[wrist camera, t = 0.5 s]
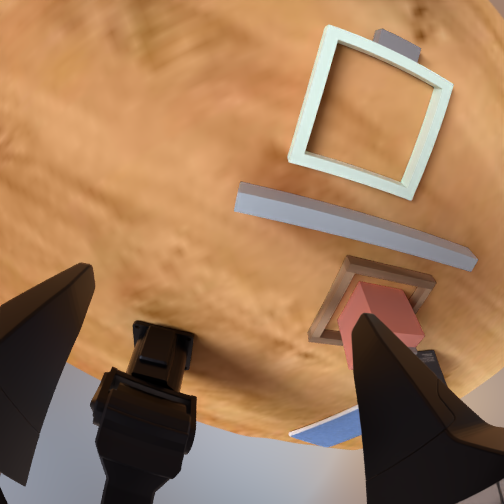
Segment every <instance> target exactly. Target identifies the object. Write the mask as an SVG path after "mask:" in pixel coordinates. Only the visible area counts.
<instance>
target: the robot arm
mask: <svg viewBox="0 0 504 504" xmlns="http://www.w3.org/2000/svg"><path fill="white" fill-rule="evenodd" d="M94 290H95V280H94V272H93V267H92V265H90V264H87V263H78V264H76V265H74V266H72V267H70V268H69V269H67V270H65V271H63V272H61V273H59V274H57V275H55V276H53V277H51V278H49V279H47V280H46V281H44V282H42V283H40V284H38V285H36V286H34V287H33V288H31V289H29V290H27V291H25V292H24V293H22V294H20V295H18V296H16V297H15V298H13V299H11V300H9V301H8V302H6V303H4V304H2V305H1V307H0V475H1V473H3V474H4V475H6V476H7V477H9V478H11V479H12V480H14V481H16V482H18V483H20V484H21V485H23V486H26V483H27V479H28V475H29V471H30V467H31V463H32V459H33V456H34V452H35V449H36V445H37V441H38V438H39V433H40V431H41V428H42V425H43V422H44V419H45V416H46V413H47V410H48V407H49V405H50V402H51V399H52V397H53V393H54V391H55V389H56V386H57V383H58V381H59V378H60V376H61V373H62V371H63V368H64V366H65V364H66V361H67V359H68V357H69V354H70V352H71V350H72V347H73V345H74V343H75V341H76V338H77V336H78V334H79V332H80V329H81V327H82V324H83V321H84V318H85V316H86V313H87V310H88V307H89V304H90V302H91V299H92V296H93V293H94ZM133 336H134V347H135V349H134V351H133V354H132V357H131V360H130V363H129V366H128V368H127V371H126V373H125V372H122V371H120V370H117V368H115V367H112V369H111V371H110V372H105V373H104V375H103V378H102V380H101V383H100V385H99V387H98V389H97V391H96V393H95V395H94V397H93V399H92V400H91V403H90V407H91V409H92V411H93V417H94V418H93V424H94V425H97V426H99V428H98V432H97V436H96V440H95V443H96V447H97V450H98V453H99V457H100V460H101V463H102V466H103V469H104V472H105V475H106V481H105V486H104V490H103V495H102V500H101V504H153V499H154V495H155V492H156V491H157V490H158V489H159V488H160V487H162V486H163V485H164V484H165V483H166V482H167V481H168V480H169V479H173V478H175V476H176V475H177V474H178V473H179V472H180V471H181V466H182V460H183V457H184V454H185V455H186V454H188V453H189V451H190V449H191V447H192V444H193V441H194V437H195V431H196V402H197V397H196V396H193V395H191V396H190V395H186V394H183V393H180V389H181V384H182V379H183V374H184V370H189V368H190V361H191V354H192V347H193V341H194V336H193V335H192V334H190V333H186V332H182V331H177V330H173V329H168V328H164V327H160V326H156V325H152V324H148V323H144V322H140V321H135V322H134V323H133ZM351 340H352V357H353V373H354V381H355V388H356V395H357V402H358V409H359V417H360V425H361V434H362V443H363V453H364V464H365V476H366V493H367V504H504V428H502V427H495V426H492V425H490V424H488V423H486V422H485V421H484V420H482V419H481V418H480V417H479V416H478V415H477V414H476V413H474V411H472V410H471V409H470V408H469V407H468V406H467V405H466V404H465V403H463V401H461V400H460V399H459V398H458V397H457V396H456V395H455V394H454V393H453V392H452V391H451V390H450V389H449V388H448V387H447V386H446V385H445V384H444V383H443V382H442V381H441V380H440V379H439V378H437V376H436V375H435V374H434V373H433V372H432V371H431V370H430V369H429V368H428V367H427V366H426V365H425V364H424V363H423V362H422V361H421V360H420V359H419V358H418V357H417V356H416V355H415V354H414V353H413V352H412V351H411V350H410V349H409V348H408V347H407V346H406V345H405V344H404V343H403V342H402V341H401V340H400V339H399V338H398V337H397V336H396V335H395V334H394V333H393V332H392V331H391V330H390V329H389V328H388V327H387V326H386V325H385V324H384V323H383V322H382V321H381V320H380V319H379V318H378V317H377V316H376V315H374V314H372V313H362V314H361V315H360V317H359V319H358V321H357V322H356V324H355V326H354V327H353V329H352V333H351ZM0 504H7V501H6V499H5V497H4V495H3V492H2V490H1V488H0Z"/></svg>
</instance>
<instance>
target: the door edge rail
mask: <svg viewBox="0 0 504 504" xmlns="http://www.w3.org/2000/svg"><path fill="white" fill-rule="evenodd" d="M234 211H235V212H240V213H245V214H249V215H254V216H258V217H263V218H267V219H271V220H276V221H280V222H284V223H289V224H293V225H297V226H301V227H306V228H310V229H314V230H318V231H322V232H326V233H330V234H334V235H338V236H342V237H346V238H350V239H354V240H358V241H362V242H366V243H370V244H373V245H377V246H381V247H385V248H389V249H392V250H396V251H400V252H403V253H407V254H411V255H414V256H418V257H421V258H425V259H428V260H432V261H435V262H439V263H442V264H446V265H449V266H453V267H456V268H460V269H463V270H466V271H470V272H471V271H472V269H473V268H474V266H475V265H476V263H477V261H478V259H477V258H476V256H475V255H474V254H473V253H472V252H471V251H470V250H469V248H467V247H464V246H462V245H459V244H456V243H453V242H451V241H448V240H445V239H442V238H439V237H436V236H433V235H431V234H428V233H425V232H422V231H419V230H416V229H413V228H410V227H407V226H403V225H400V224H397V223H394V222H391V221H388V220H384V219H381V218H378V217H375V216H371V215H368V214H365V213H361V212H358V211H354V210H351V209H347V208H344V207H340V206H337V205H333V204H329V203H326V202H322V201H318V200H315V199H311V198H307V197H303V196H299V195H295V194H291V193H287V192H283V191H279V190H275V189H271V188H267V187H262V186H258V185H254V184H249V183H245V182H240V185H239V189H238V194H237V198H236V203H235V208H234Z"/></svg>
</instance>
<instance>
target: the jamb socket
mask: <svg viewBox="0 0 504 504" xmlns="http://www.w3.org/2000/svg"><path fill="white" fill-rule="evenodd" d="M355 273H356V274H361V275H365V276H370V277H375V278H379V279H384V280H389V281H394V282H398V283H403V284H408V285H412V286H417V289H416V290H415V292H414V293H413V295H412V296H411V298H410V299H409V303H410V305H411V307H412V309H413V311H414V313H415V314H416V313H417V311H418V310H419V308H420V307H421V306H422V304H423V303H424V301H425V300H426V298H427V297H428V295H429V294H430V292H431V291H432V289H433V288H434V286H435V284H436V282H435V280H434V279H433V277H432V276H431V275H428V274H424V273H420V272H416V271H412V270H408V269H403V268H399V267H395V266H391V265H387V264H383V263H379V262H374V261H370V260H366V259H362V258H357V257H353V256H349V255H347V256H346V258H345V260H344V262H343V264H342V266H341V268H340V270H339V272H338V274H337V277H336V279H335V281H334V283H333V285H332V287H331V289H330V291H329V293H328V295H327V297H326V299H325V301H324V302H323V304H322V306H321V308H320V310H319V312H318V314H317V316H316V318H315V320H314V322H313V323H312V325H311V327H310V329H309V331H308V340H309V342H315V343H323V344H331V345H340V346H343V341H342V337H341V333H340V332H339V331H332V330H325V327H326V325H327V324H328V322H329V320H330V318H331V317H332V315H333V313H334V311H335V310H336V308H337V306H338V304H339V302H340V300H341V299H342V297H343V295H344V293H345V291H346V289H347V287H348V286H349V284H350V282H351V280H352V278H353V276H354V274H355Z"/></svg>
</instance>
